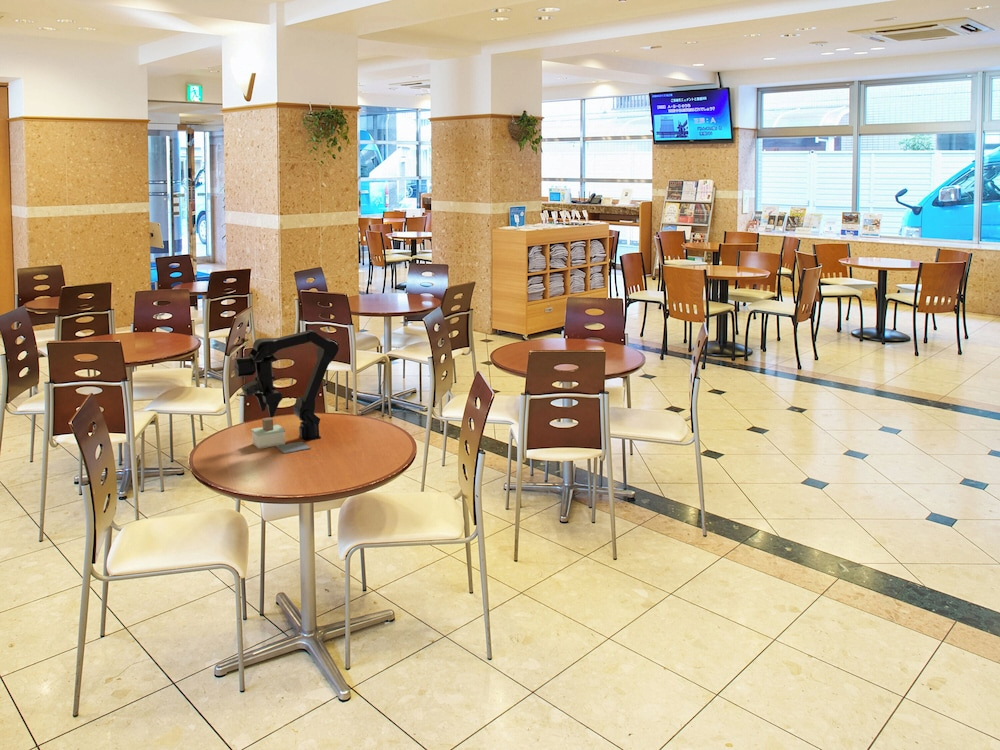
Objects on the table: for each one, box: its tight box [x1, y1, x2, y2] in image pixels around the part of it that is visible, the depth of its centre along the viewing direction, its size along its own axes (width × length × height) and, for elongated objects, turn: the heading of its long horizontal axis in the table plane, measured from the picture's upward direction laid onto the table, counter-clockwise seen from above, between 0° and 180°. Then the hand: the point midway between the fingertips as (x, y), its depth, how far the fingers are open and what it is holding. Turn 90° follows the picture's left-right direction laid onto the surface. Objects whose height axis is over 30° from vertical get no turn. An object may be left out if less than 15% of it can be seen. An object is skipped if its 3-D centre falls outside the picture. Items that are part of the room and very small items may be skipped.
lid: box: [250, 417, 286, 436], centre depth 325 cm, size 10×7×6 cm
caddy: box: [251, 431, 286, 450], centre depth 326 cm, size 10×7×5 cm
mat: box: [275, 441, 311, 455], centre depth 322 cm, size 10×8×1 cm
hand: (267, 414), depth 324 cm, fingers open, 9 cm apart
